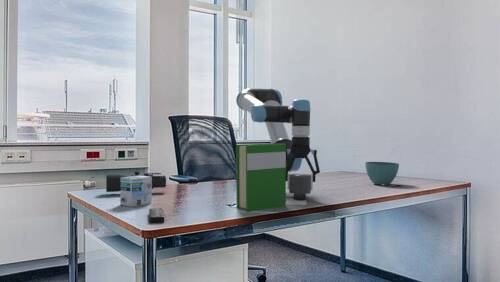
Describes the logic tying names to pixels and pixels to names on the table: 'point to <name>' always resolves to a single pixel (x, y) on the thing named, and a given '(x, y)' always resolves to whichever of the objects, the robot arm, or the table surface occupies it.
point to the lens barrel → (300, 197)
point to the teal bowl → (381, 172)
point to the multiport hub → (156, 215)
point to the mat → (294, 202)
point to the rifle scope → (115, 180)
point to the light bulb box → (136, 190)
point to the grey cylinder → (300, 183)
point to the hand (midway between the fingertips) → (299, 189)
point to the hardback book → (260, 176)
